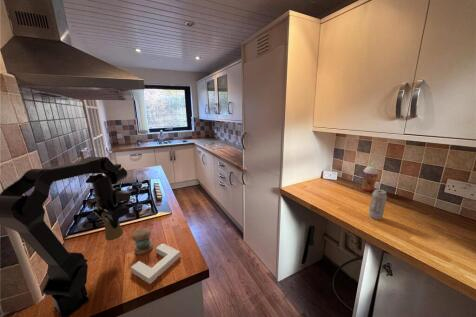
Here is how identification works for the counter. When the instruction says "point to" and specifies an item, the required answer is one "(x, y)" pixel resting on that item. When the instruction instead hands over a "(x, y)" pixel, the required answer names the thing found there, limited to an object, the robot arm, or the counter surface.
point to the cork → (111, 229)
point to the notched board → (152, 273)
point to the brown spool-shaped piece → (142, 241)
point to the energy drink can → (377, 204)
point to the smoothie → (369, 178)
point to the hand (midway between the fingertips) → (112, 226)
